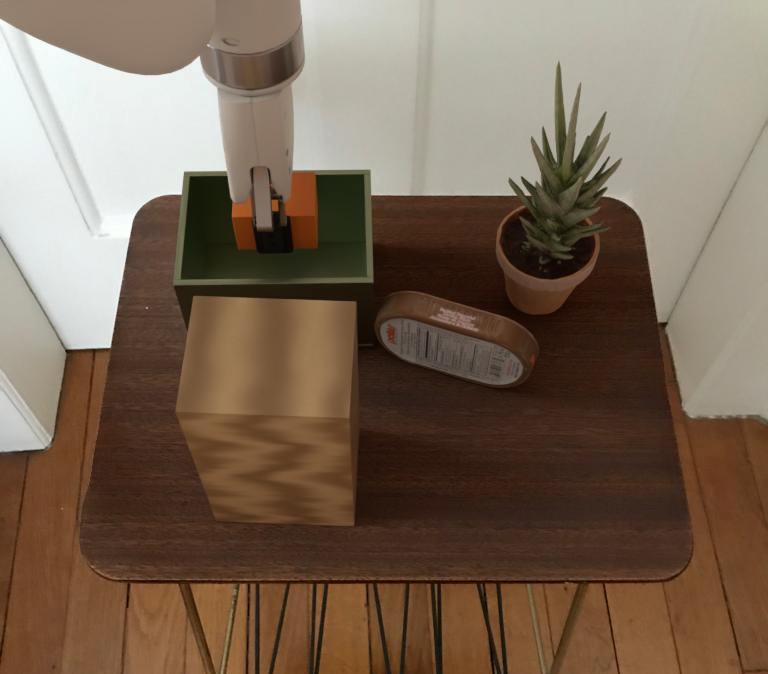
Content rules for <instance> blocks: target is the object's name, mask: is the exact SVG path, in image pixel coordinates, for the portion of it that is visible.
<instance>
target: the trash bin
mask: <svg viewBox="0 0 768 674" xmlns="http://www.w3.org/2000/svg"><path fill="white" fill-rule="evenodd" d="M297 172H315V176H316V189H317V202H318V248H310V249H293V252H292V253H267V254H261V253H258V252H257V249H240V250H239V249H238V246H237V241H236V236H235V231H234V226H233V221H232V205H233V200H232V199H231V196H230V189H229V182H228V175H227V170H202V171H201V170H200V171H196V170H195V171H194V170H192V171H189V170H187V171H183V177H182V186H181V187H182V188H181V198H180V207H179V208H180V209H179V218H178V219H179V220H178V230H177V239H176V241H177V242H176V250H175V251H176V252H175V263H174V271H173V272H174V274H173V284H172V287H173V289H174V292H175V296H176V299H177V302H178V306H179V309H180V312H181V316H182V319H183V321H184V325H185V329H186V331H187V333H188V328H189V322H190V315H191V309H192V303H193V296H211V297H239V298H268V299H296V300H324V301H353V302H356V305H357V345H358V349H374V339H375V338H374V335H375V334H374V331H375V321H374V318H375V317H374V314H375V313H374V309H375V308H374V303H375V302H374V298H375V297H374V296H375V294H374V293H375V291H374V289H375V288H374V279H375V278H374V248H373V247H374V245H373V243H374V242H373V213H372V212H373V207H372V205H373V204H372V174H371V173H372V172H371V169H302V170H301V169H299V170H298V169H296V170H295V169H293V170H292V173H297Z"/></svg>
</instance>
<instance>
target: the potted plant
mask: <svg viewBox="0 0 768 674" xmlns="http://www.w3.org/2000/svg"><path fill="white" fill-rule="evenodd" d="M555 69H556V71H555V80H554V139H555V141H554V142H555V152H556V153H555V154H556V159H555V157H554V155H553V152H552V149H551V146H550V142H549V140H548V136H547V132H546V129H545V127H544V125H542V126H541V145H542V150H541V149H540V147H539V145H538V143H537V141H536V140H535V139H534V137H533V136H530V145H531V148H532V152H533V155H534V158H535V160H536V163H537V167H538V169H539V172H540V183H539V182H538V181H537V180H535V183H534V184H532V183H531V182H529V181H528V180H527V179H526V178H525V177H523V175H521V176H520V179H521V183H522V184H523V186H524V188H525V189H526V190H527V192H528V193H529V194H530V196H531V199H530V197H529V198H528V197H527V195H526V194H525V192H524V191H523V189H521V187H520V186H519V185H518V184H517V183H516V182H515V181H514V180H513V179H512V178H511V177H508V181H507V182H508V184H509V186H510V188H511V189H512V191H513V192H514V194H515V195H516V196H517V198H518V199H519V200H520V201H521V203H522V204H523V205H521V206H518V207H517V208H516V209H514V210H512V211H511V212H510V213H508V214H507V215H506V216H505V217H504V218H503V220H501V223H500V224H499V226H498V229H497V232H496V243H495V254H496V259H497V262H498V264H499V267H500V268H501V269H502V270H503V276H504V281H505V291H506V295H507V297H508V299H509V302H510V303H511V304H512V306H514V308H515V309H516V310H518V311H519V312H522V313H524V314H528V315H533V316H534V315H548V314H551V313H554V312H556V311H557V310H558V309H560V308H561V307H562V306H563V304H565V301H566V300H567V299H568V297H569V296H570V295H571V294H572V292H573V291H574V290H575V288H576V287H577V286H578V285H580V284H581V283H582V282H584V281H585V280H586V279H587V277H589V276H590V274H591V272H593V270H594V268H595V266H596V262H597V259H598V256H599V252H600V249H601V243H600V241H601V240H600V234H601V233H603V232H605V231H609V230H611V228H612V227H611V226H602V224H604V220H601V221H599V222H597V223H593V222H592V220H590V219H589V218H590V217H592V216H594V215H595V214H597V213H598V212H599V211H600V209H601V205H598V206H595V204H596V203H598V202H599V200H600V199H601V198H602V197H603V196H604V194H606V192H607V191H608V190H609V187H608V186H605V187H603V186H604V185H605V183H607V181H608V180H609V179H610V178H611V177H612V176H613V174H615V172H616V171H617V169H618V168H619V167H620V165H621V164H622V161H623V157H619V159H618V160H617V161H616V162H614V163H613V164H612V165H611V166H610V167H609V168H607V169H606V170H605V168H606V167H607V164H608V163H609V161H610V159H611V156H610V155H609V156H607V158H606V160H605V161H604V162H603V163H602V165H601V166H600V167H599V169H598V170H597V171H596V173H595V174H594V175H593V176H592V178H591V179H590V180H587V178H588V177H589V176H590V174H591V172H592V171H593V169H594V168H595V166H596V164H597V163H598V162H599V159H600V158H601V156H602V154H603V152H604V150H605V149H606V147H607V145H608V143H609V140H610V137H611V134H612V132H610V131H609V133H608V134H607V135H605V137H604V138H603V139H602V140H601V142H600V138H601V135H602V132H603V129H604V125H605V122H606V116H607V113H608V111H606V110H605V111H604V112H603V114H602V115H601V117H600V119H599V120H598V122H597V124H596V125H595V127H594V128H593V130H592V131H591V133H590V135H587V136H586V138H585V140H584V141H583V144H582V146H581V148H580V150H579V153H578V154H577V156H576V158H575V160H574V157H575V150H576V144H577V143H576V142H577V141H576V138H577V132H576V131H577V130H576V129H577V123H578V116H579V108H580V107H579V106H580V100H581V91H582V82H579V84H578V86H577V88H576V93H575V97H574V100H573V105H572V109H571V112H570V119H569V122H568V129H567V125H566V124H567V123H566V111H565V104H564V91H563V81H562V80H563V79H562V67H561V63H560V60H558V62H557V64H556V68H555ZM599 142H600V143H599ZM604 170H605V171H604ZM586 180H587V181H586Z"/></svg>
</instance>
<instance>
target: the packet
mask: <svg viewBox="0 0 768 674" xmlns="http://www.w3.org/2000/svg"><path fill="white" fill-rule="evenodd" d="M271 186H272V184H271ZM285 204H286V215H287V216H290V220H291V228H292V237H293V245H294V247H293V249H310V248H318V202H317V189H316V176H315V172H297V173H292V184H291V197H290V198H289V200H288V201H287V202H285ZM272 211H279V210H278V200H272ZM232 221H233V226H234V231H235V236H236V241H237V246H238V249H239V250H240V249H256V243H255V238H254V232H253V226H252V210H251V202H250V196H249V197H248V199H247V202H246V204H236V203H234V202H233V205H232Z"/></svg>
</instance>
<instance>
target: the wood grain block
mask: <svg viewBox="0 0 768 674" xmlns="http://www.w3.org/2000/svg"><path fill="white" fill-rule="evenodd" d="M184 347H185V349H184V354H183V361H182V367H181V374H180V380H179V385H178V392H177V397H176V398H177V399H176V405H175V411H174V412H175V414H176V415H175V416H176V417H177V420H178V422H179V425H180V428H181V430H182V433H183V437H184V438H185V441H186V444H187V447H188V449H189V452H190V455H191V457H192V460H193V463H194V465H195V468H196V471H197V473H198V476H199V478H200V481H201V484H202V487H203V489H204V493H205V494H206V495H205V496H206V497H207V501H208V502H209V505H210V508H211V511H212V514H213V516H214V519H215V522H222V523H225V522H226V523H227V522H228V523H254V524H278V525H303V526H306V525H307V526H335V527H355V522H356V521H355V519H356V503H357V502H356V501H357V484H358V483H357V481H358V464H359V463H358V462H359V461H358V460H359V445H360V429H361V427H360V388H359V352H358V350H359V348H358V345H357V305H356V302H353V301H324V300H296V299H268V298H239V297H211V296H193V303H192V309H191V315H190V322H189V328H188V332H187V335H186V342H185V346H184Z"/></svg>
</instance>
